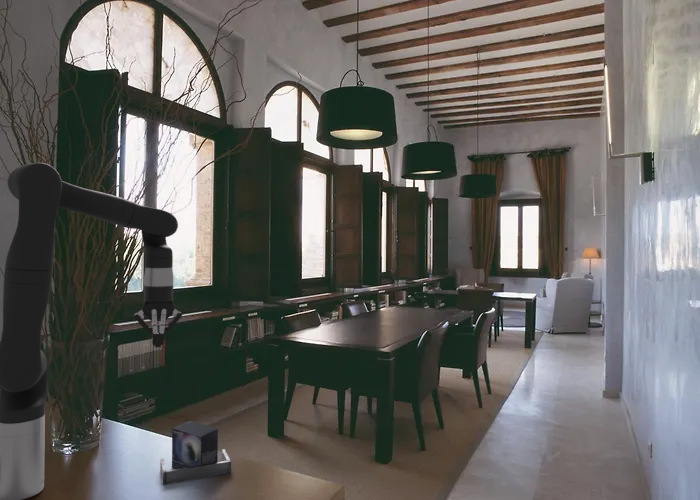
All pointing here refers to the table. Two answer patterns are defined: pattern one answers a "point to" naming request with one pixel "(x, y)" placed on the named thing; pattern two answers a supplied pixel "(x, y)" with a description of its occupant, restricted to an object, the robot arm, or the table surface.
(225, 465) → the metal bracket
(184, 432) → the small box
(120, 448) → the table surface
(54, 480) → the table surface
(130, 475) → the table surface
